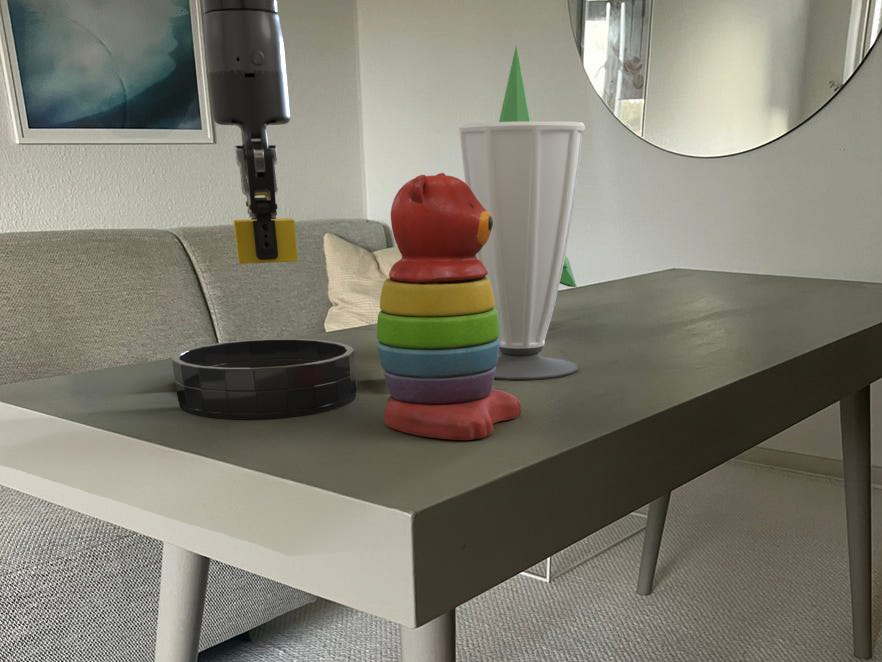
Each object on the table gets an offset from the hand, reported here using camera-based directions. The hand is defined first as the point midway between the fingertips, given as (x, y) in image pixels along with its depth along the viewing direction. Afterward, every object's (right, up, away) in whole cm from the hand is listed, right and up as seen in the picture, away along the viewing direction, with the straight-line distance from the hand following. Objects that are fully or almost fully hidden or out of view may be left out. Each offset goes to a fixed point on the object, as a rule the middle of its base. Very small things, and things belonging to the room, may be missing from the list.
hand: (266, 256), depth 104 cm
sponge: (0, 0, 0) cm, 0 cm away
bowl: (+4, -19, -17) cm, 26 cm away
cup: (+26, -14, -6) cm, 30 cm away
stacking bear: (+20, -23, -26) cm, 40 cm away
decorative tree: (+27, -3, +16) cm, 31 cm away
